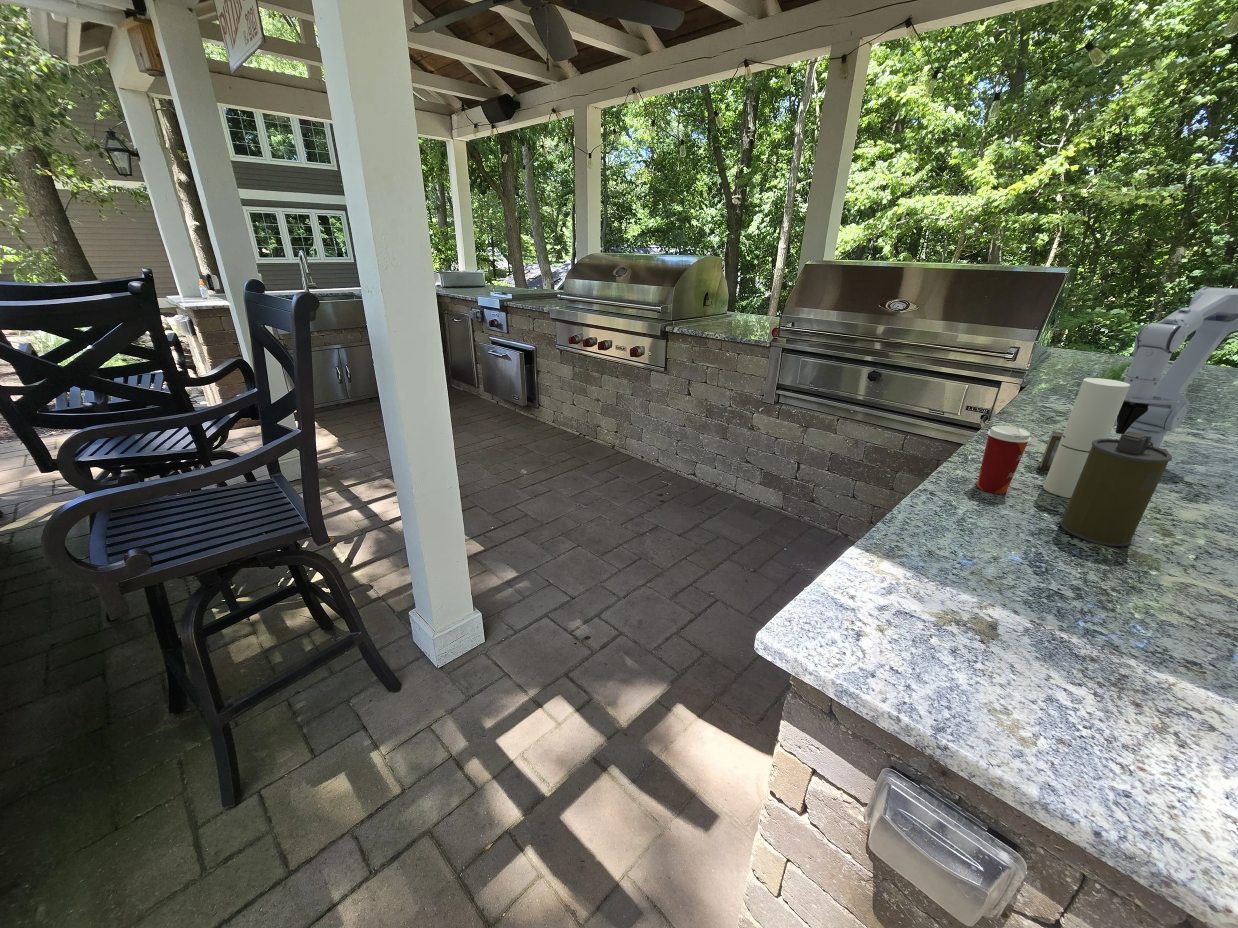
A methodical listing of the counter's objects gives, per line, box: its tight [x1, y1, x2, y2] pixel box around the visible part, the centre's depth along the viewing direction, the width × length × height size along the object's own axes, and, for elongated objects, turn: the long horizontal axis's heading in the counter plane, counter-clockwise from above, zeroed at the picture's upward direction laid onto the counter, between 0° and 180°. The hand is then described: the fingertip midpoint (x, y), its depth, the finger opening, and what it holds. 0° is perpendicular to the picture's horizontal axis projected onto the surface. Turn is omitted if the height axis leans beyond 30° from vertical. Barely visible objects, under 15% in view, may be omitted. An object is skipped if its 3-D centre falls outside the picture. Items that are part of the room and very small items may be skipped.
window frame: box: [1039, 430, 1169, 472], centre depth 117 cm, size 4×20×9 cm, turn 53°
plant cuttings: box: [1074, 361, 1132, 401], centre depth 152 cm, size 35×17×22 cm
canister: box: [1059, 431, 1173, 548], centre depth 92 cm, size 11×10×20 cm
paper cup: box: [976, 425, 1032, 495], centre depth 111 cm, size 8×8×14 cm
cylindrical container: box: [1042, 377, 1130, 499], centre depth 107 cm, size 7×7×25 cm
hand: (1119, 432), depth 120 cm, fingers closed
